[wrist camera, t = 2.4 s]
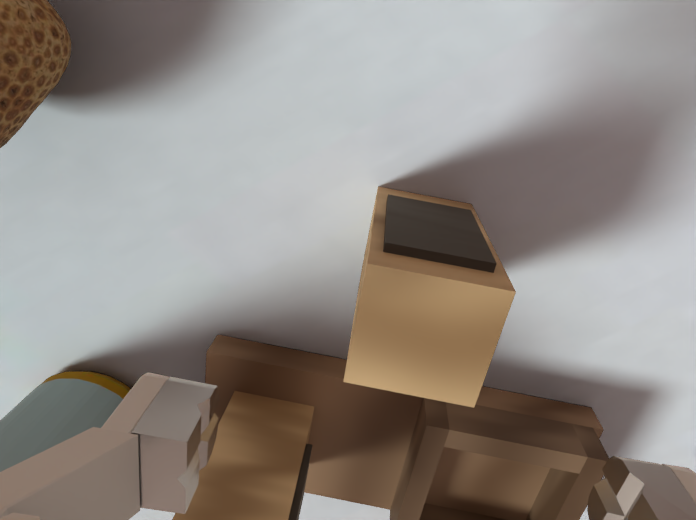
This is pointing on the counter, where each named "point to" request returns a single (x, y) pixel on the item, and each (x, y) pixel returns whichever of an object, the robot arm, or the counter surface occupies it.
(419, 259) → the block
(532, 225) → the counter surface
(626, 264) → the counter surface
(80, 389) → the bottle
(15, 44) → the natural sponge
